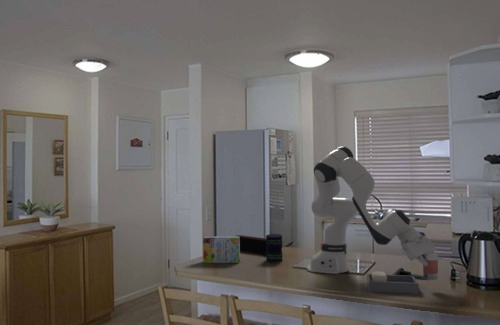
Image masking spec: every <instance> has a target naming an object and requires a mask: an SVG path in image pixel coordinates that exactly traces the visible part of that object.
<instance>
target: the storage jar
mask: <svg viewBox="0 0 500 325" xmlns="http://www.w3.org/2000/svg"><path fill="white" fill-rule="evenodd" d="M265 239H266V254H265V256H266V257H265V258H266V260H265V261H266V262H269V263H280V262H282V261H283V235H282V234H279V233H278V234H277V233H274V234H273V233H272V234H266V235H265Z"/></svg>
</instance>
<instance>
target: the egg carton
mask: <svg viewBox="0 0 500 325" xmlns="http://www.w3.org/2000/svg"><path fill="white" fill-rule="evenodd" d="M371 274H372V281H383V282H387V277H386V275H387V274H386V273H385V271H378V270H377V271H376V270H375V271H372V272H371Z"/></svg>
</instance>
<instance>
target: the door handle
mask: <svg viewBox="0 0 500 325" xmlns="http://www.w3.org/2000/svg"><path fill="white" fill-rule="evenodd" d="M391 275H405V276H414V278H415V279H418V280H428V279H425V278H424V277H423V275H421V274H416V273H412V272H411V271H407V270H405V269H404V268H403V267H399V268H398V269H396V271H395V272H394V273H392V274H391Z"/></svg>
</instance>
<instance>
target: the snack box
mask: <svg viewBox="0 0 500 325" xmlns="http://www.w3.org/2000/svg"><path fill="white" fill-rule="evenodd" d="M202 239H203V240H202V246H203V248H202V249H203V250H202V251H203V252H202V254H203V264H239V263H240V262H241V251H240V237H239V236H237V235H234V236H222V235H221V236H204V237H203V238H202Z"/></svg>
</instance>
